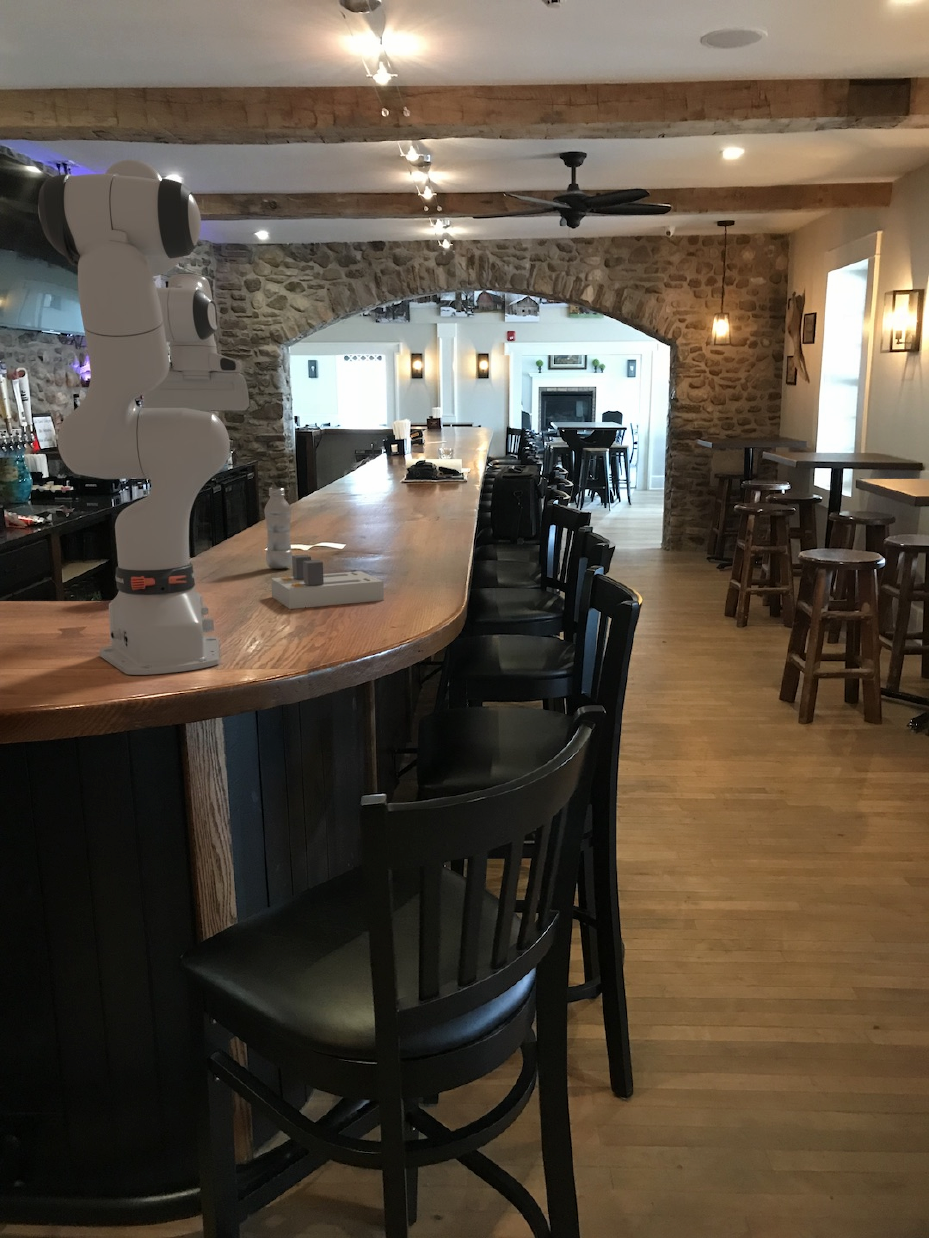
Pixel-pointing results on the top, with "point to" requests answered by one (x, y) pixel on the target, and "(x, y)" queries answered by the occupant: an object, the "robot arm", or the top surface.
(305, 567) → the near tab
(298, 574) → the far tab
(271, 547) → the plastic bottle
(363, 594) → the switch housing
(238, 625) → the top surface
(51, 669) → the top surface
